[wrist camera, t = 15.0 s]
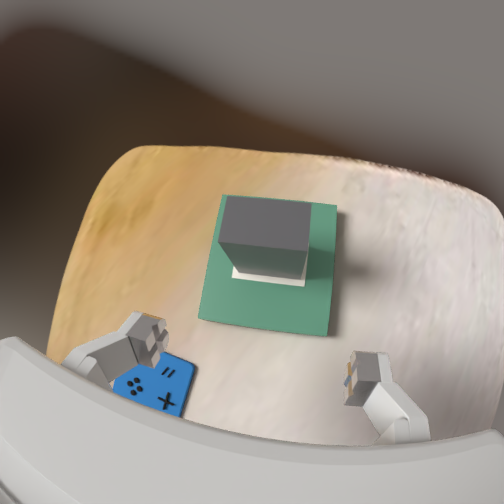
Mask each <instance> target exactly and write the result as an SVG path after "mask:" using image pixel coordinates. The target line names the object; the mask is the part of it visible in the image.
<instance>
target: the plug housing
mask: <svg viewBox="0 0 504 504" xmlns="http://www.w3.org/2000/svg"><path fill="white" fill-rule="evenodd" d="M311 207H312V203H306V202H296V201H286V200H275V199H264V198H251V197H237V196H227V199H226V204H225V208H224V213H223V218H222V223H221V228H220V233H219V238H218V243H219V244H220V246H221V247H222V249H223V250H224V252H225V253H226V255H227V256H228V258H229V259H230V261H231V262H232V264H233V265H234V267H235V268H236V270H237V271H238V273H246V274H254V275H262V276H270V277H279V278H288V279H296V280H301V276H302V272H303V269H304V265H305V261H306V257H307V253H308V245H309V233H310V221H311Z"/></svg>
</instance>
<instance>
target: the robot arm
mask: <svg viewBox="0 0 504 504" xmlns="http://www.w3.org/2000/svg"><path fill="white" fill-rule="evenodd" d="M165 327H166V321H165V319H163V318H160V317H156V316H153V315H149V314H146V313H142V312H139V311H134V312H133V313H132V314H131V315H130V316H129V317H128V319H127V320H126V321H125V322H124V323H123V325H122V326H121V327H120V328H119V330H118V331H117V332H111V333H109V334H107V335H104V336H102V337H100V338H97V339H95V340H92V341H90V342H88V343H85V344H83V345H80V346H78V347H75V348H74V349H73V350H72V351H71V352H70V354H69V355H68V356H67V357H66V358H65V360H64V361H63V362H62V363H61V364H58V363H57V362H55V361H53V360H52V359H50V358H48V357H47V356H45V355H44V354H42V353H40V352H39V351H37V350H36V349H34V348H33V347H31V346H30V345H28V344H27V343H25V342H24V341H23V340H21V339H20V338H18V337H10V338H6V339H3V340H0V504H504V435H503V434H502V433H501V432H499V431H498V430H497V429H488V430H484V431H480V432H476V433H472V434H467V435H463V436H458V437H453V438H447V439H441V440H435V441H431V436H430V430H429V424H428V418H427V416H426V415H425V414H424V413H423V411H422V410H421V409H420V408H419V407H418V406H417V405H416V404H415V402H414V401H413V400H412V399H411V398H410V397H409V396H408V395H407V394H406V393H405V391H404V390H403V389H402V388H401V387H400V386H399V385H398V384H397V383H394V382H393V377H392V371H391V366H390V361H389V356H388V354H387V353H381V352H365V351H353V352H352V354H351V362H349V363H348V364H347V366H346V369H345V373H344V385H345V386H346V389H345V391H344V405H349V406H363V407H362V408H363V409H364V411H365V412H366V414H367V416H368V417H369V419H370V421H371V422H372V424H373V425H374V427H375V429H376V430H377V432H378V433H379V435H380V437H379V438H378V439H377V440H376V441H375V442H374V443H373V444H372V445H371V446H339V445H320V444H308V443H298V442H289V441H282V440H275V439H268V438H262V437H257V436H251V435H246V434H241V433H236V432H232V431H227V430H223V429H219V428H215V427H211V426H207V425H203V424H200V423H196V422H193V421H189V420H186V419H183V418H180V417H177V416H173V415H170V414H167V413H165V412H162V411H159V410H156V409H153V408H151V407H148V406H145V405H143V404H140V403H138V402H135V401H133V400H130V399H128V398H126V397H123V396H121V395H119V394H116V393H114V392H113V389H112V388H111V386H110V384H109V382H111V381H113V380H114V379H116V378H118V377H119V376H121V375H122V374H124V373H126V372H127V371H129V370H131V369H132V368H134V367H135V366H137V365H138V364H141V365H144V366H147V367H151V368H155V366H156V365H157V363H158V361H159V360H160V353H162V352H164V351H165V350H166V348H167V346H168V342H169V334H168V332H167V330H166V329H165Z"/></svg>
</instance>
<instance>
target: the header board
mask: <svg viewBox="0 0 504 504" xmlns="http://www.w3.org/2000/svg"><path fill="white" fill-rule="evenodd" d="M227 196H236V195H222V199H221V204H220V208H219V213H218V217H217V222H216V226H215V231H214V236H213V241H212V245H211V250H210V255H209V260H208V265H207V270H206V276H205V281H204V286H203V291H202V297H201V302H200V308H199V313H198V318H199V319H203V320H208V321H214V322H220V323H226V324H232V325H238V326H244V327H251V328H258V329H265V330H272V331H280V332H288V333H296V334H305V335H315V336H327V331H328V323H329V315H330V305H331V295H332V284H333V272H334V259H335V242H336V220H337V205H331V204H322V203H313V202H306V203H312V207H311V221H310V233H309V245H308V253H307V257H306V261H305V265H304V269H303V272H302V276H301V280H296V279H288V278H279V277H270V276H262V275H254V274H246V273H238V271H237V270H236V268H235V267H234V265H233V264H232V262H231V261H230V259H229V258H228V256H227V255H226V253H225V252H224V250H223V249H222V247H221V246H220V244H219V243H218V238H219V233H220V228H221V223H222V218H223V213H224V208H225V204H226V199H227ZM237 197H250V196H237ZM251 198H262V197H251ZM264 199H274V198H264ZM275 200H285V199H275ZM286 201H295V200H286ZM296 202H304V201H296Z"/></svg>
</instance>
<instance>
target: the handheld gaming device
mask: <svg viewBox="0 0 504 504" xmlns="http://www.w3.org/2000/svg"><path fill="white" fill-rule="evenodd" d="M194 370H195V367H194V365H193V364H192V363H190V362H188V361H185V360H183V359H180V358H178V357H176V356H173V355H171V354H168V353H166V352H162V353H160V360H159V361H158V363H157V365H156V366H155V368H151V367H147V366H144V365H141V364H138V365H137V366H135V367H134V368H132V369H131V370H129V371H127V372H126V373H124V374H122V375H121V376H119V377H118V378H116V379H115V382H114V386H113V392H114V393H116V394H119V395H121V396H123V397H126V398H128V399H130V400H133V401H135V402H138V403H140V404H143V405H145V406H148V407H151V408H153V409H156V410H159V411H162V412H165V413H167V414H170V415H173V416H177V417H180V416H181V412H182V409H183V406H184V402H185V399H186V396H187V393H188V390H189V386H190V383H191V380H192V377H193V374H194Z"/></svg>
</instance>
